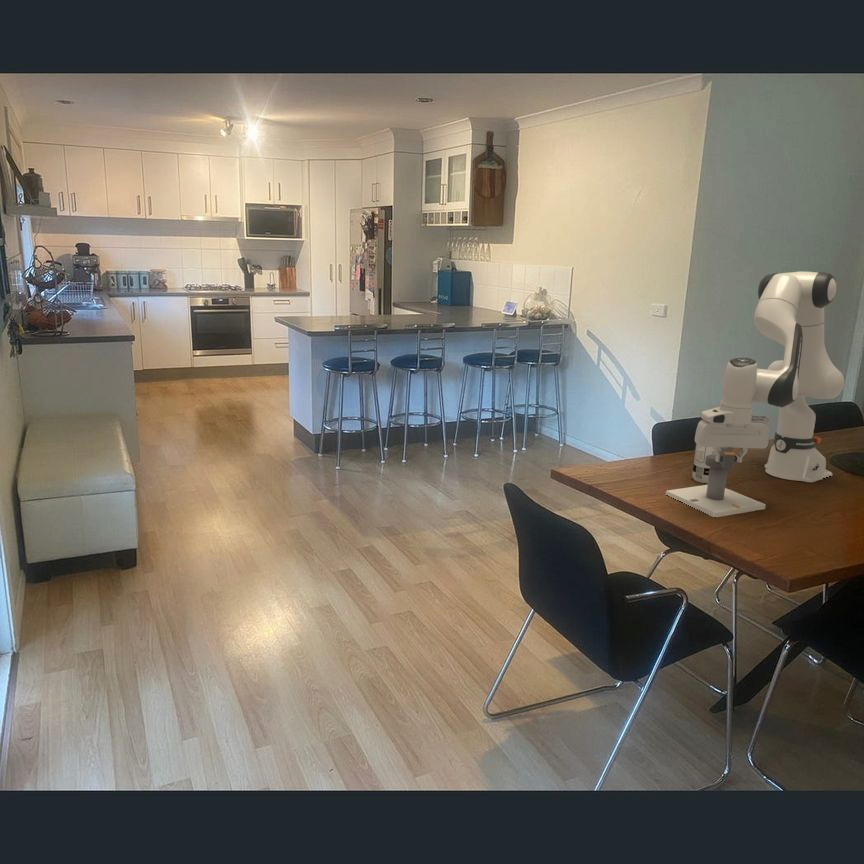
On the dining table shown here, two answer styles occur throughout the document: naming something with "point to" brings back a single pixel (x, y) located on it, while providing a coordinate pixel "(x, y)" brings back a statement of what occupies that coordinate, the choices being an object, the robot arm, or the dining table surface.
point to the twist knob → (727, 459)
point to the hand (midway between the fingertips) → (728, 461)
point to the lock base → (715, 504)
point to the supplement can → (701, 464)
